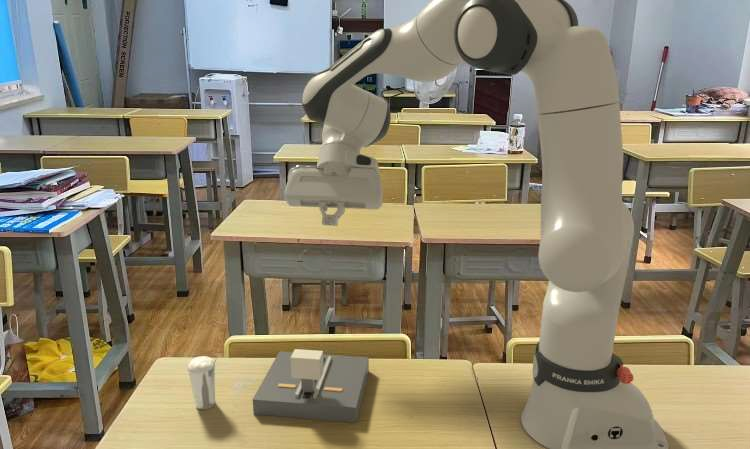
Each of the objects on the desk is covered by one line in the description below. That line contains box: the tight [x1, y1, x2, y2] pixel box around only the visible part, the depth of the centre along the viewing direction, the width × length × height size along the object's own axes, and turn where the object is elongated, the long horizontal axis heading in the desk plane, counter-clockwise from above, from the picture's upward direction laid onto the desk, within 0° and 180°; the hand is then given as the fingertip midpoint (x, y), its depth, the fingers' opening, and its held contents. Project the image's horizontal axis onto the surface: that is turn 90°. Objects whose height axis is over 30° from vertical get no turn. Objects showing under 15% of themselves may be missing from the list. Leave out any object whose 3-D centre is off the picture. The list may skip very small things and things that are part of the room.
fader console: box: [252, 351, 370, 424], centre depth 101 cm, size 18×16×4 cm
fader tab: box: [291, 348, 324, 392], centre depth 95 cm, size 5×3×7 cm, turn 83°
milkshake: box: [187, 356, 218, 411], centre depth 95 cm, size 4×5×10 cm
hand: (329, 224), depth 109 cm, fingers closed
